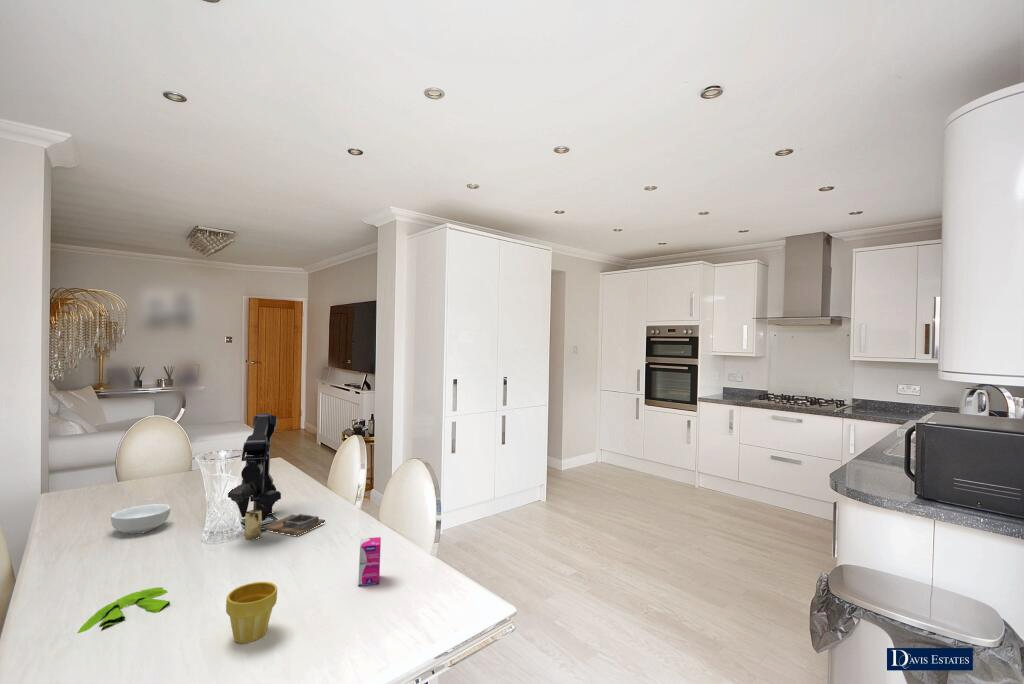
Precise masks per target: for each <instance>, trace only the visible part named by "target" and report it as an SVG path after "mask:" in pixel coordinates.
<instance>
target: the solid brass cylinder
mask: <svg viewBox="0 0 1024 684" xmlns="http://www.w3.org/2000/svg"><path fill="white" fill-rule="evenodd" d="M244 518H245V521H244V524H245V525H244V540H245V539H246V540H245V541H247V540H251V541H253V540H252V539H256V538H258V537H260V536H261V537H262V510H253V509H252V510H247V512H246V516H245V517H244ZM261 537H260V538H261ZM256 540H257V539H256Z"/></svg>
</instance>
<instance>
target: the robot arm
mask: <svg viewBox="0 0 1024 684" xmlns="http://www.w3.org/2000/svg"><path fill="white" fill-rule="evenodd" d="M278 419H279V418H278V416H276V415H272V413H269V412H267V413H264V412H262V413H256V414H255V416H253V419H252V427H253V431H252V434H250V435H249V436H247V438H246V441H245V442H244V443H243V447H242V454H241V462H245V461H246V463H245V466H244V468H242V470H241V474H240V476H241V478H242V480H241V484H239V485H237V486H236V487H233V488H234V489H232V488H231V489H232V490H231V491H230V492H229V491H228V492H229V493H228V492H227V498H229V499H230V500H231V501H233V502H235V503H236V506H237V507H238V510H239V513H240V515H241V518H245V516H246V512H247V511H248V507H249V503H250V502H251V503H252V502H253V507H252V510H262V519H261V522H263V521H266V519H267V517H268V516H269V515H268V514H269V513H272V511H273V506H274V505H275V504H276V503H277V502H278V501H279V500H281V499H282V493H281V492H280V490H277V487H276V485H275V484H274V479H273V477H272V476H271V473H270V467H271V466H270V463H271V446H272V445H271V443H272V442H271V441H272V436H273V435H274V434H275V432H276V428H277V427H278V421H279V420H278Z"/></svg>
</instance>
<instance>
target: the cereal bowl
mask: <svg viewBox="0 0 1024 684" xmlns="http://www.w3.org/2000/svg"><path fill="white" fill-rule="evenodd" d="M170 513H171V505H168V504H165V503H164V504H163V503H153V504H150V503H149V504H141V505H136V506H132V507H128V508H124V509H120V510H117V511H115V512H113V513H112V514H111V517H110V521H111V526H112V527H113V528H114V530H116V531H119V532H123V533H126V532H127V533H126V534H128V533H131V534H130V535H136V534H135V533H139V534H143V533H142V532H144V533H148V532H150V530H151V531H152V529H153V530H154V529H155V528H158V527H159V526H161V525H162V524H164V523H165V522H166V521H167V520H168V519H169V516H170ZM147 531H148V532H147Z"/></svg>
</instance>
